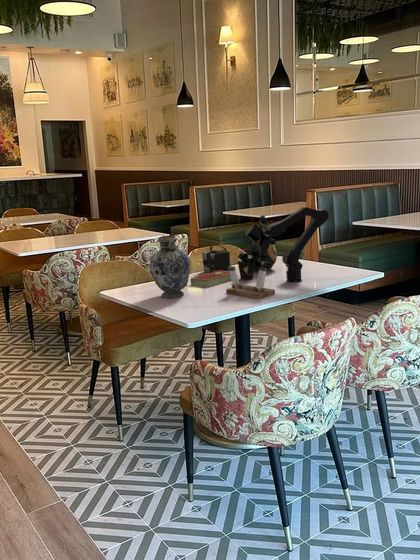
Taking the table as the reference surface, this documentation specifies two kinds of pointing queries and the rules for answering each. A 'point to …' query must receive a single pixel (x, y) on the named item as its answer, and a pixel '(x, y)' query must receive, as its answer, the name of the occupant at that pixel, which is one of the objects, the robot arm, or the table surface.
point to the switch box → (250, 291)
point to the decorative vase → (170, 267)
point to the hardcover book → (211, 278)
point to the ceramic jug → (272, 249)
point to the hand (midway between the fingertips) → (248, 274)
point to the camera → (216, 260)
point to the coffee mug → (244, 270)
